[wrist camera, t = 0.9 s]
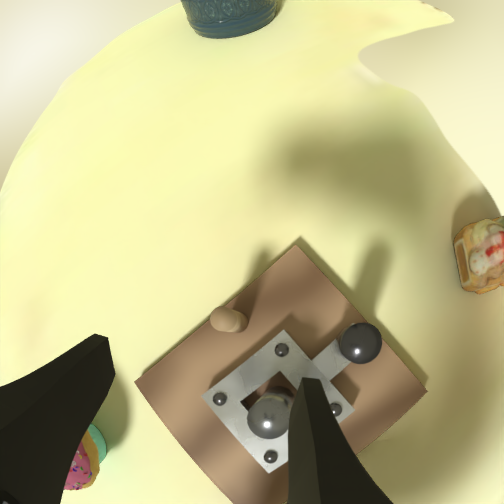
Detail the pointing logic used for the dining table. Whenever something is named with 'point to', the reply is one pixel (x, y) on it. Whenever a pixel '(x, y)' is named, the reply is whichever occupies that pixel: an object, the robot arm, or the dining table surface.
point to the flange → (294, 368)
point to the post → (271, 413)
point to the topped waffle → (481, 255)
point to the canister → (228, 16)
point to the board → (246, 345)
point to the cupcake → (86, 460)
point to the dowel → (228, 320)
